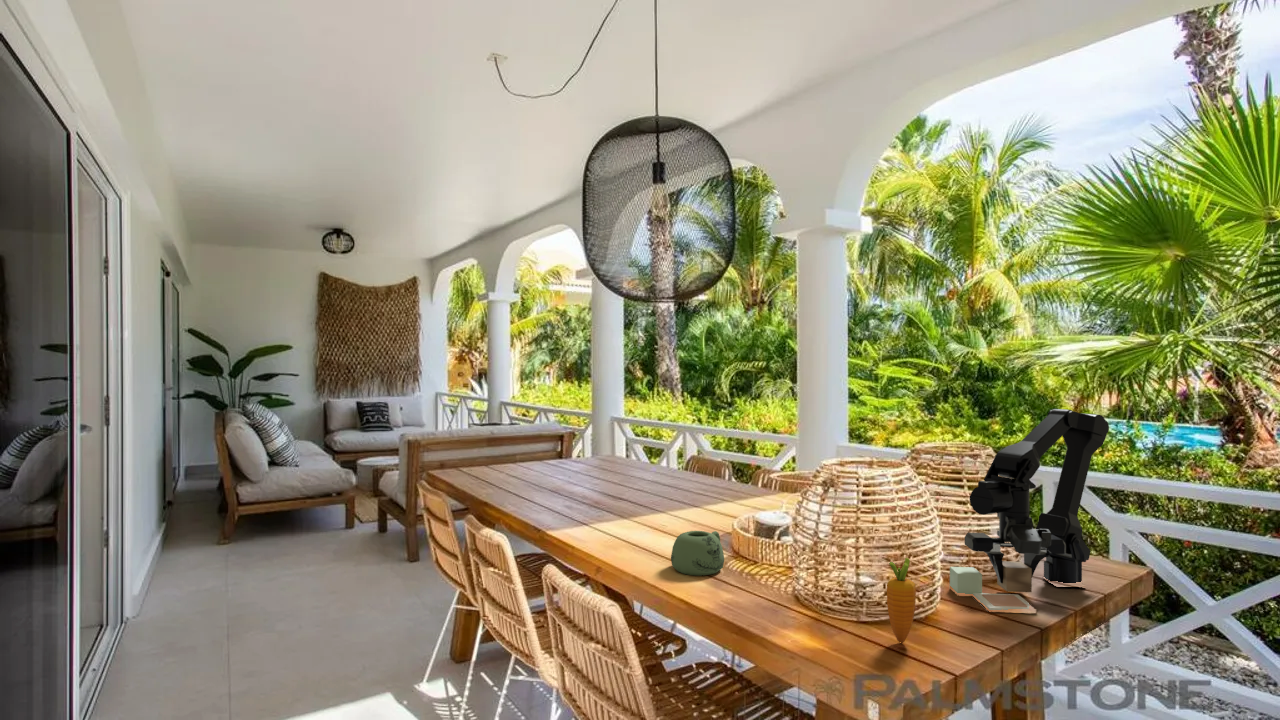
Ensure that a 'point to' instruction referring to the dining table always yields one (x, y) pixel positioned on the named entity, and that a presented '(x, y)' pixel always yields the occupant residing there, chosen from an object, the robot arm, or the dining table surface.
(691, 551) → the green animal planter
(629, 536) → the dining table surface
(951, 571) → the sage block
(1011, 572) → the walnut block
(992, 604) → the bordered square coaster
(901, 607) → the carrot
